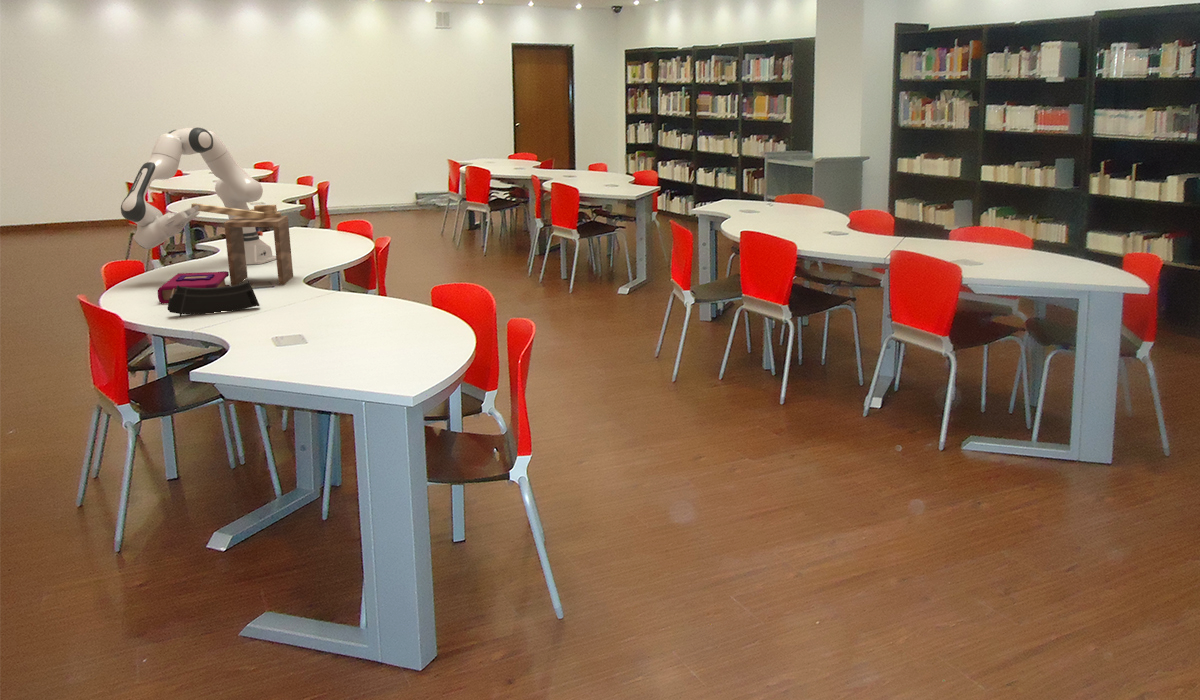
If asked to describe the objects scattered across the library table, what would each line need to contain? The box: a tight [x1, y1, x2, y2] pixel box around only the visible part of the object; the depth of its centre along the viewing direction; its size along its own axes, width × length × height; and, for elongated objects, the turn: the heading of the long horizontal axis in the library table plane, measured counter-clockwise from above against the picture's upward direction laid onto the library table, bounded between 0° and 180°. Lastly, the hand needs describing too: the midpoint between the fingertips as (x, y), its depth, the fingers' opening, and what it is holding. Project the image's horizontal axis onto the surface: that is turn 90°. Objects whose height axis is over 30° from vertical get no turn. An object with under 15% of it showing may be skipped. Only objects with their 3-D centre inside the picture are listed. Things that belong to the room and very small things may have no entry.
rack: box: [223, 204, 294, 286], centre depth 399 cm, size 21×19×31 cm
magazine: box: [167, 280, 261, 317], centre depth 345 cm, size 17×3×30 cm
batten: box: [190, 202, 264, 219], centre depth 394 cm, size 28×3×2 cm, turn 96°
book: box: [157, 270, 231, 305], centre depth 375 cm, size 21×28×8 cm
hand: (200, 205), depth 392 cm, fingers closed on batten, 3 cm apart
